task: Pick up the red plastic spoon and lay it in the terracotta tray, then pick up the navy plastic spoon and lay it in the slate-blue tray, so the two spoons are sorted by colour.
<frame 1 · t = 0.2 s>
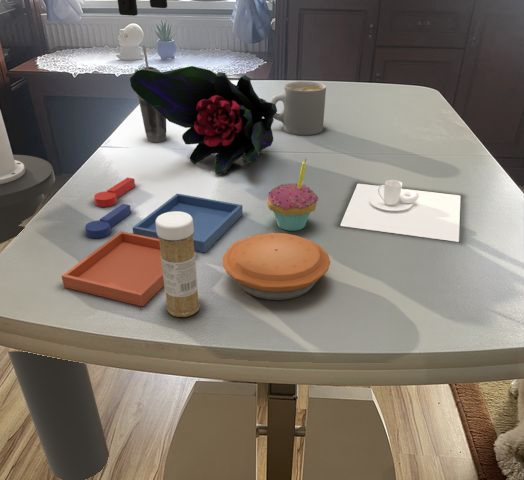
hand: (144, 11, 93), 29 cm above the table, tool pointing down, fingers open, 9 cm apart
cupcake: (290, 226, 95), on the table
sprinkles bottle: (183, 310, 75), on the table
pie: (275, 281, 81), on the table
teacup and saucer: (403, 210, 101), on the table
terracotta tray: (131, 271, 83), on the table
beverage cup: (156, 140, 131), on the table
decorative plant: (224, 165, 118), on the table
blue spoon: (110, 225, 95), on the table
coffee mug: (296, 129, 138), on the table
blue tray: (190, 226, 95), on the table
red spoon: (116, 196, 105), on the table
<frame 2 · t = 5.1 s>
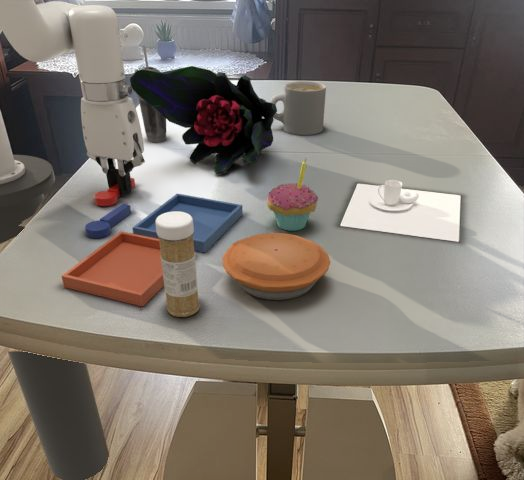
hand: (120, 192, 106), 0 cm above the table, tool pointing down, fingers closed on red spoon, 1 cm apart
red spoon: (116, 195, 105), on the table, touching gripper
everything else where it was.
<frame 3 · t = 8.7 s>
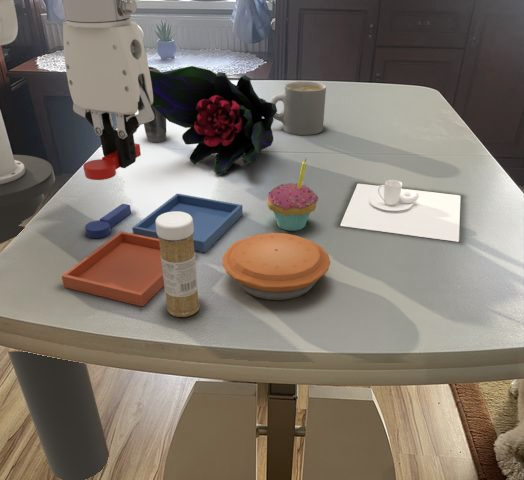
hand: (120, 162, 76), 15 cm above the table, tool pointing down, fingers closed on red spoon, 1 cm apart
red spoon: (114, 166, 75), point 15 cm above the table, touching gripper
everything else where it was.
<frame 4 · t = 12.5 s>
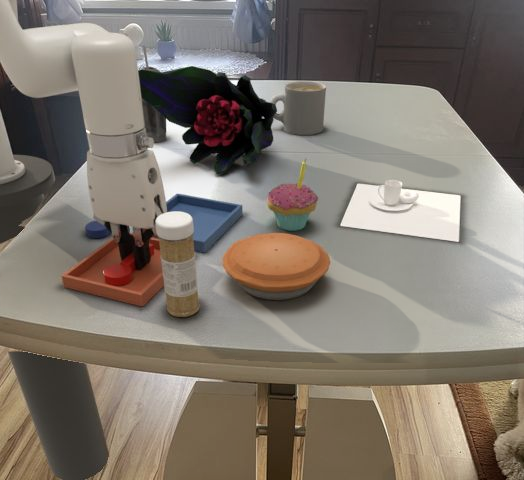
hand: (136, 263, 84), 1 cm above the table, tool pointing down, fingers closed on red spoon, 1 cm apart
red spoon: (131, 268, 82), resting on terracotta tray, touching gripper
everything else where it was.
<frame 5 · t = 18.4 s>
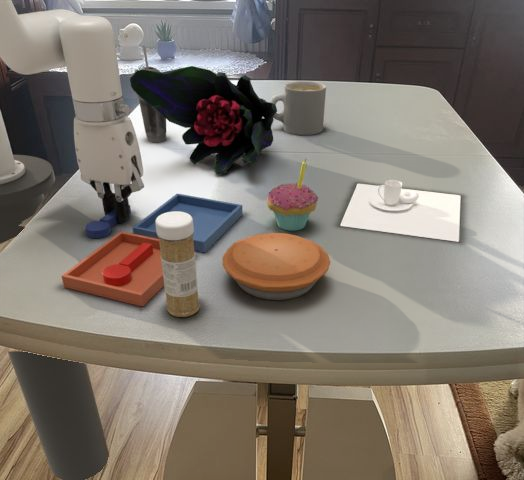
hand: (118, 218, 97), 0 cm above the table, tool pointing down, fingers closed on blue spoon, 1 cm apart
blue spoon: (110, 225, 95), on the table, touching gripper
red spoon: (130, 268, 83), resting on terracotta tray
everything else where it was.
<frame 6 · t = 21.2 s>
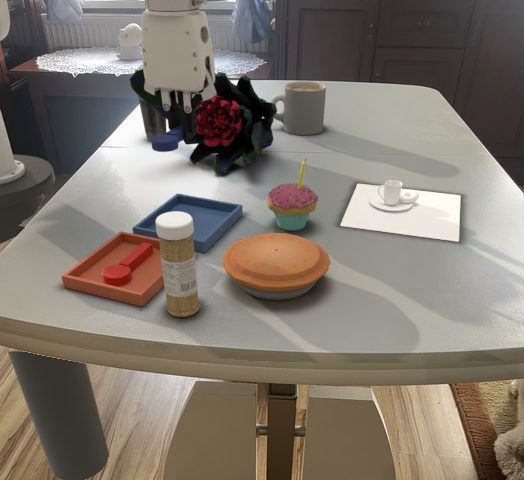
hand: (183, 135, 87), 15 cm above the table, tool pointing down, fingers closed on blue spoon, 1 cm apart
blue spoon: (175, 141, 86), point 14 cm above the table, touching gripper
everything else where it was.
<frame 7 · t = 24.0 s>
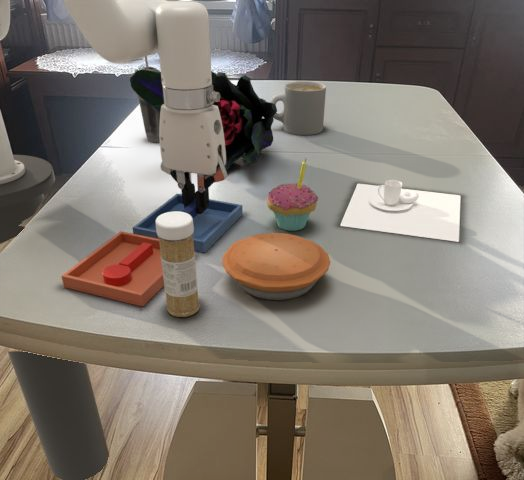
hand: (196, 209, 95), 2 cm above the table, tool pointing down, fingers closed on blue spoon, 1 cm apart
blue spoon: (190, 216, 94), point 2 cm above the table, touching gripper
everything else where it was.
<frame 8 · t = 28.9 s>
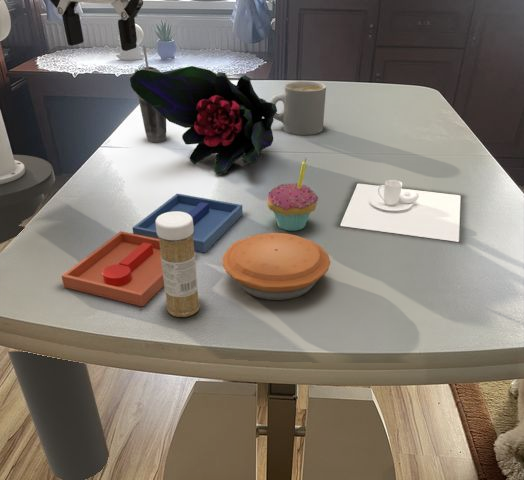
hand: (102, 46, 84), 26 cm above the table, tool pointing down, fingers open, 9 cm apart
blue spoon: (191, 223, 95), resting on blue tray
everything else where it was.
at the end: red spoon inside the target area in the terracotta tray (0.2 cm from its centre), point 0.4 cm above the terracotta tray's base; blue spoon inside the target area in the blue tray (0.1 cm from its centre), point 0.4 cm above the blue tray's base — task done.
